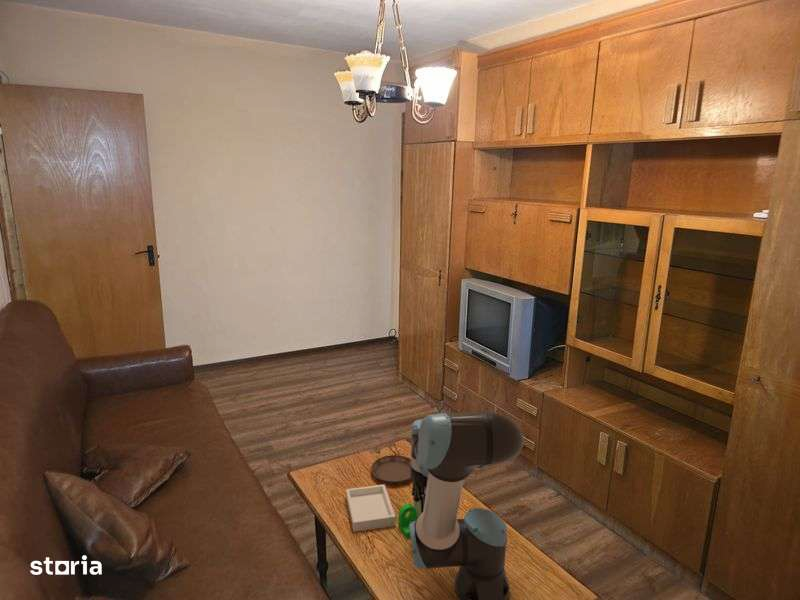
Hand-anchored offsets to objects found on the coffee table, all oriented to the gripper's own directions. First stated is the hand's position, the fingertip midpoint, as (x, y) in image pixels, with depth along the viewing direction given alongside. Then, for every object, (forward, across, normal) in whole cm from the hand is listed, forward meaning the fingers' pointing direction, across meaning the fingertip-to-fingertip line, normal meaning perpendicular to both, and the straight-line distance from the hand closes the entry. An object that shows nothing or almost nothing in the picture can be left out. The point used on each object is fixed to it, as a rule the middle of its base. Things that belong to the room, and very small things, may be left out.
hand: (420, 527), depth 170 cm
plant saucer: (+1, +32, +2) cm, 32 cm away
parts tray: (0, +12, +15) cm, 19 cm away
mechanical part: (+1, 0, +1) cm, 1 cm away
